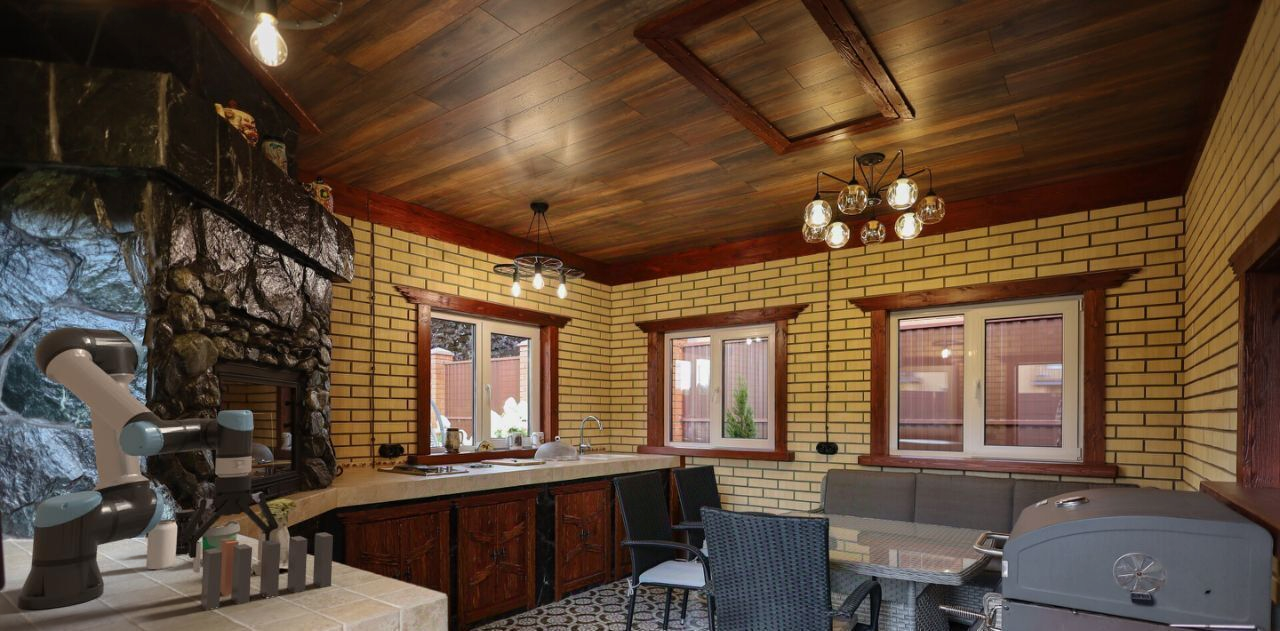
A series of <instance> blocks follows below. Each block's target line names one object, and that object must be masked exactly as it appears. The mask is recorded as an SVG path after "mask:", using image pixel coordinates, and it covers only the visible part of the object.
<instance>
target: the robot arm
mask: <svg viewBox="0 0 1280 631" xmlns="http://www.w3.org/2000/svg"><path fill="white" fill-rule="evenodd" d="M33 352H34V355H33V356H34V357H33V358H34V363H35V365H36V367H37V369H38V370H39V372H41V374H42V375H44V377H46V378H47V379H48V380H49V381H50V382H52V383H55V384H62V385H63V386H64V387H65V388H66V389H68V390H69V391H70V392H71V394H72V395H74V396H75V397H76V398H78V399H79V400H80V401H81V402H82V403H83V404H85V406H87V407H88V408H89V414H90V421H91V429H92V430H91V431H92V437H93V445H94V452H95V462H96V469H97V479H98V483H97V485H96V486H95V487H94V488H93V489H92V490H86V491H85V490H84V491H77V492H69V493H65V494H60V495H55V496H53V497H49V498H47V499H45V500H43V501H42V502H41V503H39V505H37V507H36V512H35V518H34V519H33V525H34V528H33V529H34V531H33V532H34V533H33V543H32V552H31V553H32V555H31V565H30V566H31V567H30V571H29V573H28V576H26V579H25V581H24V583H23V586H22V588H21V590H20V592H19V595H18V599H17V607H18V608H20V609H24V610H25V609H26V610H40V609H41V610H43V609H52V608H54V609H55V608H61V607H66V606H67V607H68V606H71V605H76V604H81V603H85V602H89V601H91V600H94V599H97V598H99V597H101V596H102V595H103V594H104V589H105V587H104V586H105V583H104V579H103V576H102V572H101V571H100V566H99V565H98V560H97V558H98V557H97V555H98V546H101V545H104V544H109V543H114V542H118V541H123V540H131V539H134V538H136V537H137V538H138V537H139V536H143V535H147V534H148V532H150V531H152V530H153V529H154V528H155V527H156V526H157V524H158V522H159V521H160V520H162V517H163V515H164V511H165V510H164V509H165V502H164V501H165V500H164V498H163V495H162V494H161V493H160V492H159V490H158V489H156V488H153V487H151V485H150V480H149V478H147V477H145V476H144V475H142V474H141V465H140V458H139V457H150V456H156V455H163V454H164V455H165V454H172V453H181V452H182V453H183V452H193V451H206V450H208V451H209V450H210V451H211V450H215V451H216V452H215V469H214V470H215V472H214V473H215V475H217V476H216V477H215V478H214V491H213V492H214V493H213V494H214V495H213V497H212V498H203V497H200V498H199V499H198V501H197V507H196V510H195V512H194V514H193V516H192V518H191V519H190V521H189V523H188V525H187V526H186V528H185V530H184V532H183V533H182V535H181V537H180V540H181V541H183V542H188V543H189V554H188V557H189V558H190V559H193V565H192V572H194V573H195V574H197V573H198V574H199V573H200V572H201V552H202V550H201V549H202V542H200V540H201V539H202V536H203V535H204V534H205V532H206V531H207V530H208V529H210V528H212V526H213V525H214V523H215V522H216V521H217V520H218V519H220V518H221V516H225V517H228V516H231V515H241V514H242V513H243V514H245V515H246V516H247V517H248V518H249V519H250V520H251V521H252V522H253V523H254V524H255V525H256V526H257V527H258V528H259V529H260V530H261V532H258V543H257V561H258V562H259V561H260V562H261V560H262V541H269V539H270V533H271V531H272V530H274V529H277V528H278V524H277V522H276V520H275V518H274V516H273V514H272V512H271V511H270V509H269V507H268V505H267V503H268V502H267V501H266V494H265V492H262V491H258V492H257V493H252V492H251V490H252V489H251V488H252V475H250V474H249V473H251V472H252V464H253V463H252V462H253V461H252V455H253V453H252V452H253V439H254V438H253V437H254V428H255V427H254V415H253V412H252V411H251V410H249V409H243V410H242V409H240V410H239V409H238V410H237V409H235V410H232V409H231V410H230V409H229V410H220V411H219V412H218V414H217V418H200V417H199V418H198V417H197V418H187V419H174V420H163V419H161V418H160V417H159V416H158V415H156V414H155V413H154V412H152V411H151V410H150V409H149V408H148V407H147V406H145V405H144V404H143V403H142V402H141V401H140V400H138V399H137V398H136V397H135V396H134V395H133V394H132V393H131V389H130V383H131V382H132V381H133V380H134V379H136V374H135V373H137V372H138V371H139V369H140V368H141V367H142V363H143V361H144V349H143V346H142V344H141V342H140V341H139V339H138V338H137V337H136V336H134V335H133V334H131V333H129V332H126V331H122V330H116V329H109V328H108V329H102V328H101V329H100V328H88V327H87V328H85V327H77V326H76V327H75V326H65V327H59V328H57V329H53V330H51V331H49V332H48V333H45V335H43V337H41V338H40V339H39V341H38V342H37V344H36V345H35V349H34V351H33ZM252 501H254V502H255V503H257V505H258V506H259V508H260V511H262V512H263V514H264V516H265V518H266V520H267V521H268V522H267V521H266V522H267V524H266V523H265V521H262V520H261V517H260V516H258V515H257V514H256V512H254V511H253V509H252V508H251V507H250V506H249V504H250V503H251V502H252ZM211 504H212V506H213V507H214V510H212V511H211V513H210V514H209V516H208V517H207V518H206V519H205V520H204V521H203V523H202V524H201V525H200V526H198V529H197V531H196V532H195V533H194V534H193V535H192V536H191V534H192V533H193V531H194V529H195V527H196V526H197V524H198V525H199V522H200V520H201V518H202V516H203V515H204V514H205V511H206V509H208V508H209V507H210V505H211ZM268 523H269V525H268ZM267 525H268V526H267ZM190 536H191V537H190Z"/></svg>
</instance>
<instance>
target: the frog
mask: <svg viewBox="0 0 1280 631" xmlns="http://www.w3.org/2000/svg"><path fill="white" fill-rule="evenodd" d="M266 503H267V505H268V507H269V509H270V511H271V512H272V514H273V516H274V518H275V520H276V522H277V524H278V528H277V529H274V530H272V531H271V533H270V539H269V540H275V541H277V542H279V543H280V564H279V569H286V571H288V559H289V538H290V537H291V536H290V533H289V532H290V531H289V530H288V527H287V526H286V525H288V522H289V516H290V515H291V514H292V513H293V512H294V511H295V510H296V508H297V503H296V501H295V500H294V499H289V498H279V499H277V498H276V499H275V500H271V501H268V502H266ZM259 518H260V519H261V520H262V521H263V522H267V524H266V525H267V526H268V525H269V523H268V521H267V520H266V518H265V516H264V514H263V512H262V510H260V513H259ZM253 562H254V563H251V575H252V574H255V575H256V576H261V561H259V560H258V562H257V563H255V562H256V560H255V559H254V560H253ZM254 572H255V573H254Z"/></svg>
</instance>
